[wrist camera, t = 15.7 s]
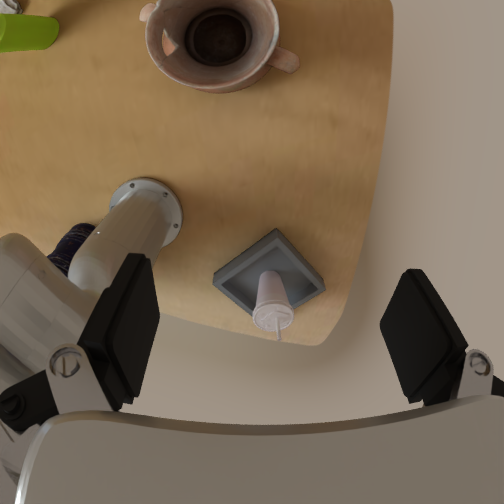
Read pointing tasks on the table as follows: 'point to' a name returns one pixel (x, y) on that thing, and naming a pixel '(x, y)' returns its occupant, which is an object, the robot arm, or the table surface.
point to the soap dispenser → (26, 32)
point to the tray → (264, 259)
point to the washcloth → (10, 7)
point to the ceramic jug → (216, 42)
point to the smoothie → (272, 304)
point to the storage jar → (70, 246)
